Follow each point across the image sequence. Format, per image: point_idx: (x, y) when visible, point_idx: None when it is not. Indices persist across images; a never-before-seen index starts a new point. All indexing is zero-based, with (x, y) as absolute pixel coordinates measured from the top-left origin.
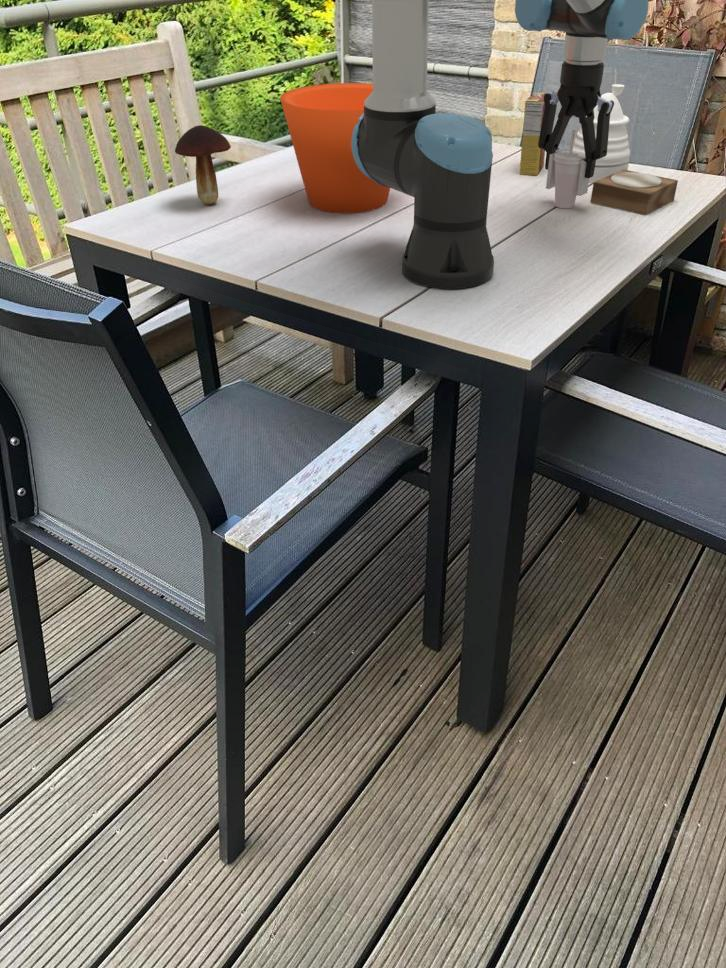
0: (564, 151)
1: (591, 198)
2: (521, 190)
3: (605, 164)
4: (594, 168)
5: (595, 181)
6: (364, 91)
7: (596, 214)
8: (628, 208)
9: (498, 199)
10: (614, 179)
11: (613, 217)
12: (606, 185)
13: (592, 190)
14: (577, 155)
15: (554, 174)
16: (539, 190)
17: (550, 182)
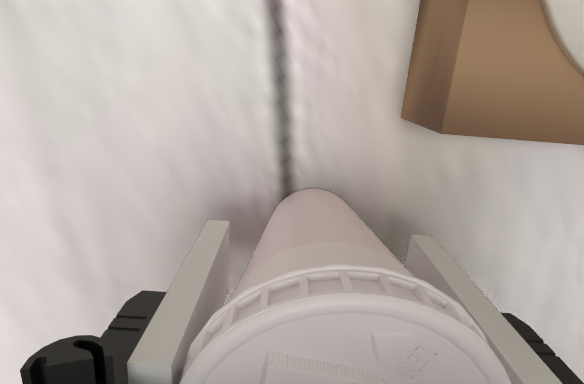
0: (212, 369)
1: (409, 120)
2: (16, 141)
3: None
4: (559, 361)
5: (447, 108)
6: None
7: (481, 255)
8: None
9: (40, 314)
10: (582, 24)
11: (559, 249)
12: (536, 139)
13: (423, 126)
14: None
15: (215, 296)
16: (83, 83)
17: (222, 303)
